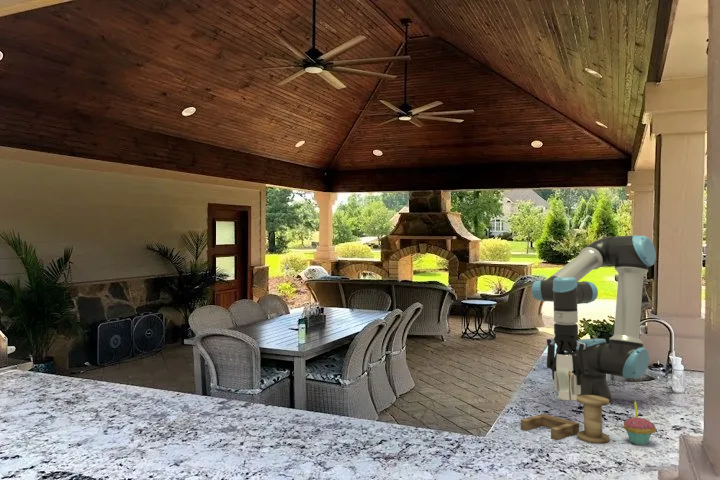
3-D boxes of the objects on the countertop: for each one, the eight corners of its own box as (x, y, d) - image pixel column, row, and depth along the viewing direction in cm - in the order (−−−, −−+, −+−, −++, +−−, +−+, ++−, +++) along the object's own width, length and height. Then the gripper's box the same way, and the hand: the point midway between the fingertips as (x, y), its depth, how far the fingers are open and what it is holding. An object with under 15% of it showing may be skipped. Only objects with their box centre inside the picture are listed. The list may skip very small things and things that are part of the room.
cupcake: (617, 437, 163) (617, 397, 164) (644, 437, 164) (643, 397, 165) (634, 447, 155) (633, 405, 155) (662, 446, 156) (661, 404, 156)
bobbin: (587, 432, 169) (587, 393, 169) (615, 439, 161) (614, 399, 162) (571, 437, 163) (570, 397, 164) (599, 445, 156) (598, 403, 157)
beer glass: (581, 401, 175) (579, 355, 175) (558, 400, 176) (557, 355, 177) (576, 396, 182) (575, 351, 182) (555, 395, 183) (553, 351, 184)
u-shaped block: (543, 422, 178) (543, 413, 178) (579, 432, 168) (579, 423, 168) (520, 429, 171) (520, 419, 171) (556, 440, 161) (556, 430, 161)
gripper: (534, 321, 185) (535, 388, 185) (586, 327, 170) (588, 400, 169) (547, 319, 190) (548, 385, 189) (599, 325, 174) (601, 396, 174)
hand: (567, 392), depth 179 cm, fingers closed on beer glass, 6 cm apart
